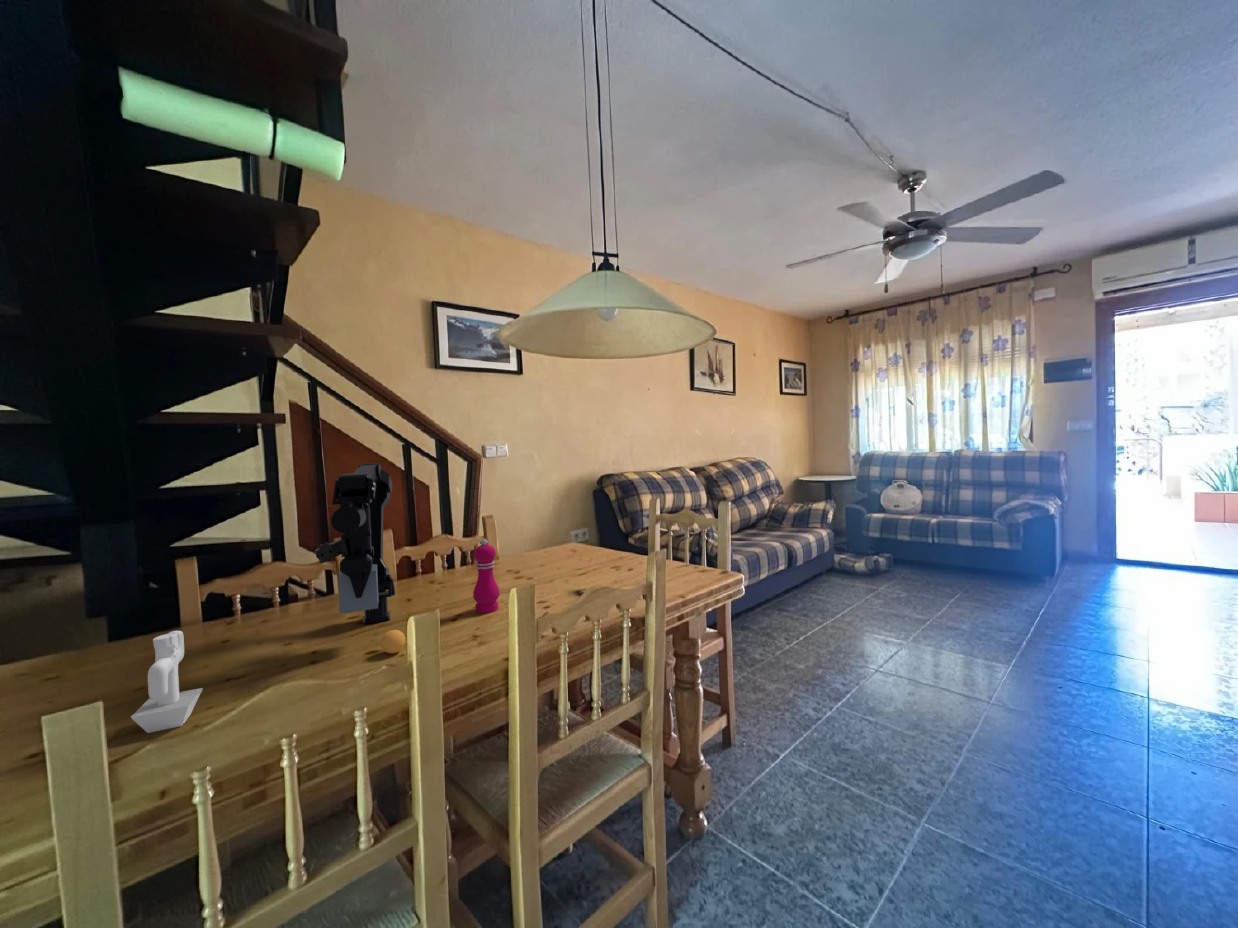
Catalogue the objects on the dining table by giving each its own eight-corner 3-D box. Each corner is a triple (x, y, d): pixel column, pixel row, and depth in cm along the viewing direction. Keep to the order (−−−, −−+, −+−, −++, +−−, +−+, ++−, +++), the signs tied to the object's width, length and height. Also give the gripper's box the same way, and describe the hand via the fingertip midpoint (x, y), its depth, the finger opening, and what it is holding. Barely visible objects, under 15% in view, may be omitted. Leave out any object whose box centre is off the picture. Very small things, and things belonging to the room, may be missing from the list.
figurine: (128, 743, 78) (123, 648, 77) (153, 715, 86) (149, 630, 86) (187, 731, 81) (182, 640, 80) (206, 705, 89) (201, 622, 89)
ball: (381, 651, 112) (380, 629, 112) (405, 646, 114) (404, 625, 114) (381, 658, 108) (380, 636, 107) (406, 654, 110) (405, 631, 110)
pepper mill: (493, 614, 136) (490, 541, 135) (468, 613, 137) (466, 541, 137) (504, 606, 143) (501, 537, 142) (481, 605, 144) (478, 537, 144)
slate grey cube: (342, 604, 118) (341, 568, 118) (378, 599, 121) (376, 564, 121) (339, 613, 111) (338, 574, 111) (377, 608, 114) (376, 570, 114)
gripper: (321, 525, 121) (324, 589, 121) (311, 536, 104) (314, 609, 104) (372, 521, 126) (375, 582, 126) (370, 531, 109) (373, 601, 109)
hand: (359, 593), depth 116 cm, fingers closed on slate grey cube, 8 cm apart
